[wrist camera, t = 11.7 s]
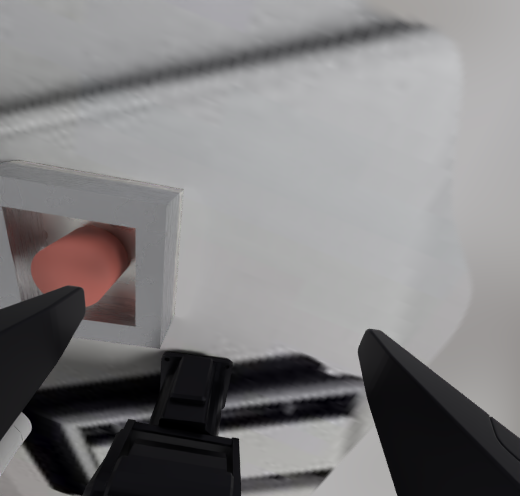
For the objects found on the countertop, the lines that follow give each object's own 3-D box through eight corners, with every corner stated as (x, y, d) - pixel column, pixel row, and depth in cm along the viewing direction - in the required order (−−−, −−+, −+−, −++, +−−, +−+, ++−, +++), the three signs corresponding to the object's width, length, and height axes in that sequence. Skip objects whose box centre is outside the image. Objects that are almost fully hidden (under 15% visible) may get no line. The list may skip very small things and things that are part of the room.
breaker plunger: (128, 285, 21) (107, 312, 18) (68, 276, 21) (36, 302, 18) (127, 231, 19) (103, 252, 16) (61, 221, 19) (25, 240, 16)
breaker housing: (174, 314, 24) (160, 348, 20) (41, 295, 23) (0, 327, 20) (183, 189, 20) (166, 205, 16) (18, 159, 19) (-40, 169, 15)
